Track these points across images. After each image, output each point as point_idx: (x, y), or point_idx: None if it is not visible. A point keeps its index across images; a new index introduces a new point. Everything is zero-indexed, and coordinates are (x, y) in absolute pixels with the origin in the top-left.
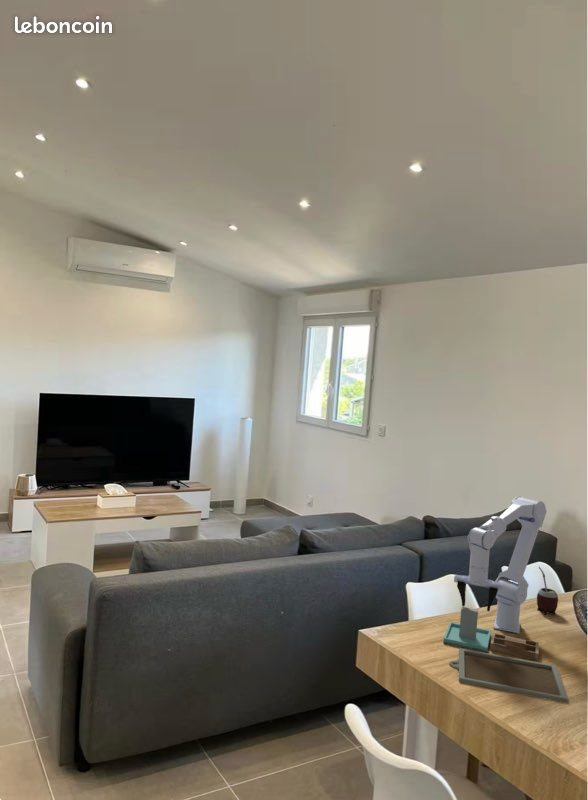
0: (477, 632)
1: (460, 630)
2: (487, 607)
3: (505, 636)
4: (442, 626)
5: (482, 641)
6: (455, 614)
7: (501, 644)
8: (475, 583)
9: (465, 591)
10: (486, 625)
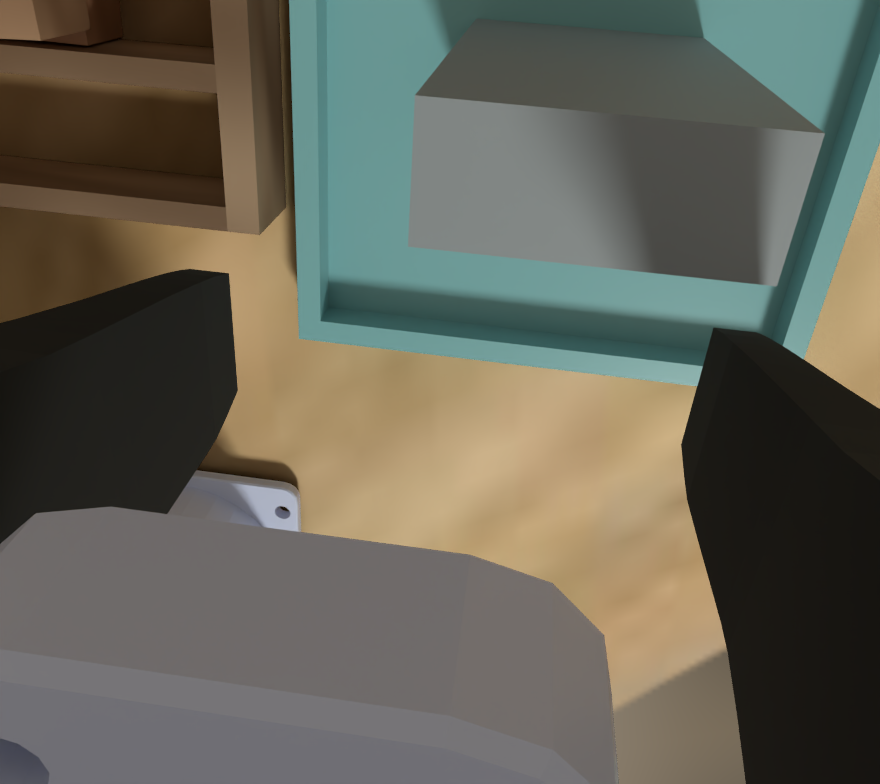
0: (453, 289)
1: (705, 51)
2: (188, 287)
3: (30, 20)
4: (873, 336)
5: (382, 24)
6: (669, 657)
7: (149, 46)
8: (381, 690)
9: (743, 687)
10: (373, 529)
